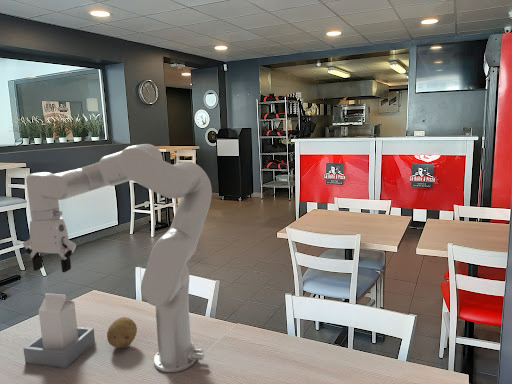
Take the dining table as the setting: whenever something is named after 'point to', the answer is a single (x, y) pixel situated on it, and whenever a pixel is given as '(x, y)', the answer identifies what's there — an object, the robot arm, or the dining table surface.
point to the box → (59, 357)
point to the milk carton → (58, 322)
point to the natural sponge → (122, 332)
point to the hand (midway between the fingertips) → (52, 269)
